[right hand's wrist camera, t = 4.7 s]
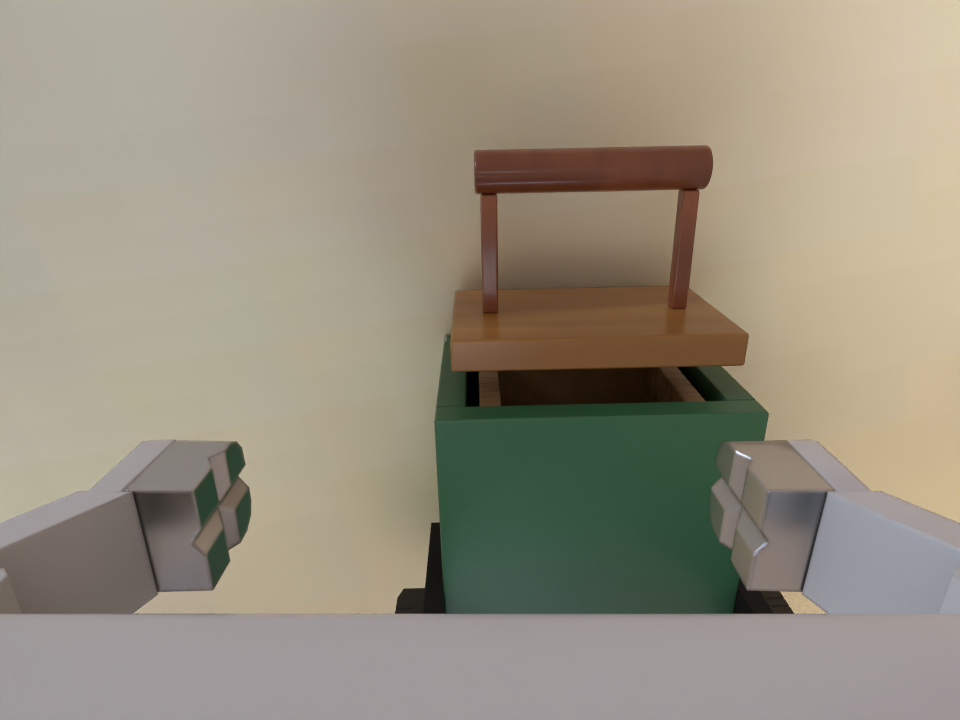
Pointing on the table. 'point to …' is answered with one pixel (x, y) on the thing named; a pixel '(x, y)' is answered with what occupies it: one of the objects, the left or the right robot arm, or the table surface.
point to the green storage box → (586, 500)
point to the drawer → (590, 294)
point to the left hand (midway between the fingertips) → (571, 542)
